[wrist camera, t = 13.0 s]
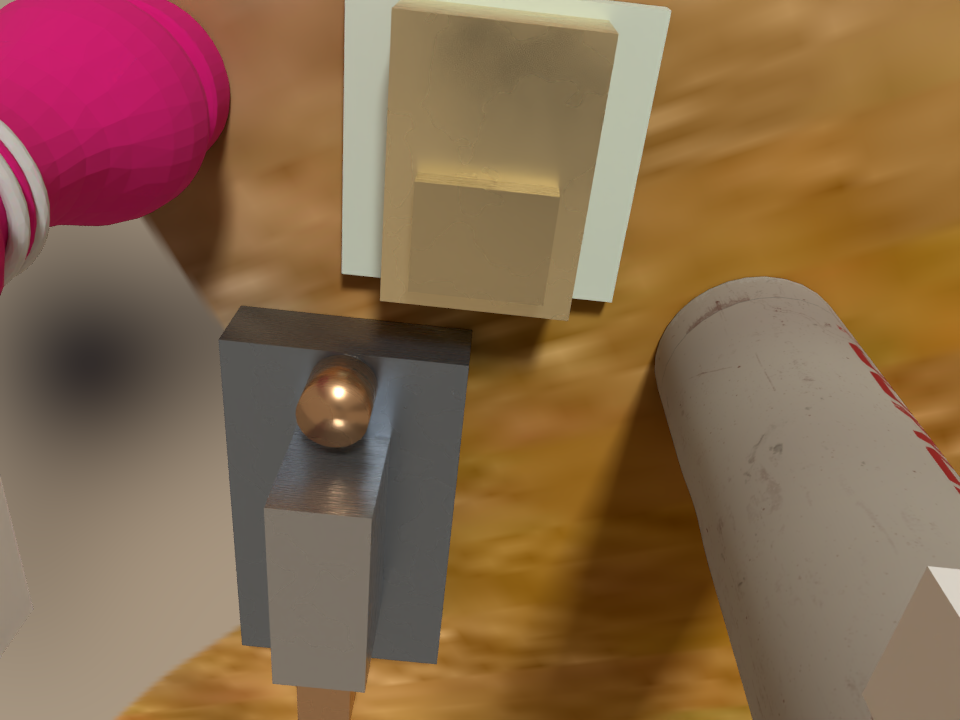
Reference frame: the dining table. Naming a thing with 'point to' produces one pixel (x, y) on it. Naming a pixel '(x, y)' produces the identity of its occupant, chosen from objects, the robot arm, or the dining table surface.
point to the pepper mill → (99, 115)
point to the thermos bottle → (802, 491)
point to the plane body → (341, 491)
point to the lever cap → (490, 155)
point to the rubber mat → (617, 145)
